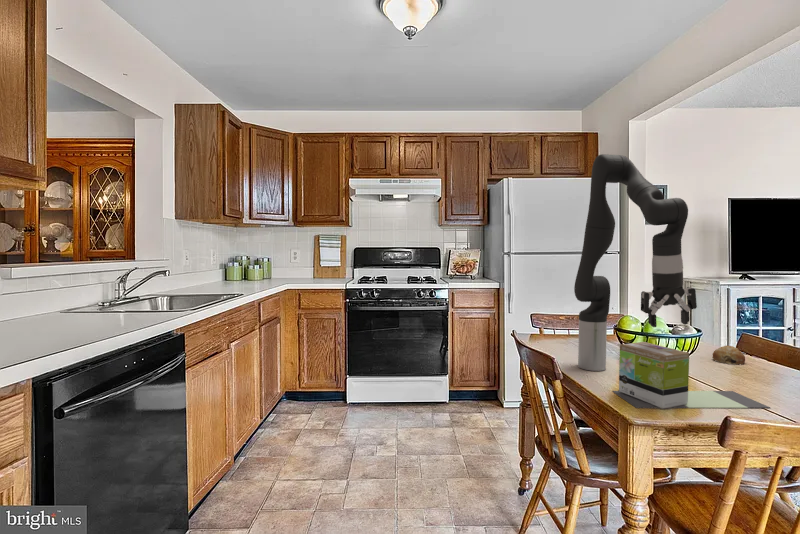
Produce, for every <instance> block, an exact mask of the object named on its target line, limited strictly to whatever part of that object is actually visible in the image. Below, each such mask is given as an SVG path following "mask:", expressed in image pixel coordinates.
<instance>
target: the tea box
mask: <svg viewBox="0 0 800 534" xmlns="http://www.w3.org/2000/svg"><path fill="white" fill-rule="evenodd" d="M618 365H619V366H618V367H619V368H618V391H619V392H622V393H625V394H628V395H630V396H633V397H635V398H638V399H640V400H643V401H645V402H648V403H650V404H652V405H655V406H657V407H659V408H658V409H670V408H669V407H674V406H680V405H685V404H687V403H688V391H689V380H690V379H689V375H690V352H687V351H683V350H679V349H675V348H671V347H667V346H662V345H658V344H655V343H650V342H646V341H640V342H631V343H623V344H620V343H619V364H618Z"/></svg>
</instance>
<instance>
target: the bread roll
mask: <svg viewBox="0 0 800 534" xmlns="http://www.w3.org/2000/svg"><path fill="white" fill-rule="evenodd" d="M712 359H713V361H715V362H717V363H721V364H725V363H726V365H739V364H741V365H744V364H745V362H746V356H745V354H744V353H743V352H742V351H741V350H740V349H739V348H737V347H735V346H732V345H724V346H721V347H718V348H716V349H715V350H713V352H712Z"/></svg>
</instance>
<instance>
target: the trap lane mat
mask: <svg viewBox="0 0 800 534" xmlns="http://www.w3.org/2000/svg"><path fill="white" fill-rule="evenodd" d="M612 392H613V393H614V394H615V395H616V396H618V397H620V399H623V400H624V401H626V402H627V403H628V404H630V405H631V406H632V407H634V408H635V409H660V408H659V407H657V406H655V405H652V404H650V403H648V402H645V401H643V400H640V399H638V398H635V397H633V396H630V395H628V394H625V393H622V392H619V390H612ZM764 408H770V409H771V407H770V406H768V405H765V404H764V403H761V402H759V401H757V400H754V399H752V398H750V397H748V396H745V395H743V394H740V393H739V392H735V391H734V390H688V403H687V404H685V405H680V406H674V407H669V408H668V409H757V410H758V409H764Z"/></svg>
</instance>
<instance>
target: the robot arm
mask: <svg viewBox="0 0 800 534" xmlns="http://www.w3.org/2000/svg"><path fill="white" fill-rule="evenodd" d="M590 177H591V178H590V179H591V180H590V194H589V195H590V197H589V205H588V212H587V216H586V217H587V218H586V224H585V229H584V238H583V245H582V250H581V251H582V252H581V257H580V262H579V265H578V269H577V273H576V277H575V280H574V287H573V289H574V292H573V293H574V296H575V298H576V299H577V301H578V302H583V303H584V302H585V303H590V304H589V305H588V307H587V308H585V309H582V310H581V311H579V314H578V347H577V348H578V349H577V350H578V355H577V358H578V361H577V362H578V363H577V366H578V368H580V369H582V370H586V371H593V372H598V371H599V372H600V371H605V370H607V369H606V367H607V332H608V331H607V328H608V327H607V323H608V321H607V319H608V315H609V312H610V302H611V285H610V281H609V280H608V278H607V277H605V276H604V275H603V276H602V275H595V271H596V270H595V269H596V268H597V265H598V263H599V262H600V260H601V259H602V257H603V256H604V255H605V253H607V251H608V250H609V248H610V246H611V245H612V242H613V240H614V234H615V228H616V221H615V220H616V219H615V217H614V215H613V212H612V210H611V207H610V205H609V203H608V201H607V195H606V194H607V192H606V190H607V189H606V188H607V184H608V183H609V184H622V185H625V186H626V194H627V196H628V198H629V199H630V200H631V202H633V204H635V205H636V206H637V207H638V208H639V209H640V211H641V213H642V215H643V218H644V220H645V222H646V223H648V224H650V225H652V226H665V225H666V228H665V230H663V231H662V232H659V233H656V234H654V235H653V236H652V240H651V241H652V258H651V275H652V278H651V279H652V290H651V291H643V290H642V291H641V292H640V311H641V312H643V313H644V314H647V318H648V324H649V325H650V327H652V328H656V327H657V314H656V313H657V312H658V311H659V310H660V309H661V308H662V307H663V306H664V307H665V306H676V305H677V306H678V307H679V308H680V309H681V310H680V323H681V324H683V325H688V324H689V323H690V312H691V310H696V309H697V308H698V304H697V294H696V289H695V288H694V287H691V286H688V287H687V286H686V288H684V262H683V255H682V238H683V234H684V231H685V227H686V224H687V220H688V217H689V207H688V204H687V202H686V201H685V200H684V199H682V198H680V197H670V198H665V197H664V193H663V192H662V191H661V189H659V188H658V187H657V186H655V185H654V184H653V183H651V182H650V181H649V180H647V178H645V177H644V175H643V173H641V172H640V170H639V169H638V168H637V167H636V165H635V164H634V162H632V161H631V160H630V158H628V157H627V156H625V155H621V154H609V153H607V154H599V155H597V156H596V157H595V159H594V161H593V164H592V168H591V176H590ZM684 295H685V296H686V301H687V303H686V302H685V301H684V300H683V299H682V297H683V296H684ZM652 297H653V300H652V301H651V303H650V300H651V298H652Z"/></svg>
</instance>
